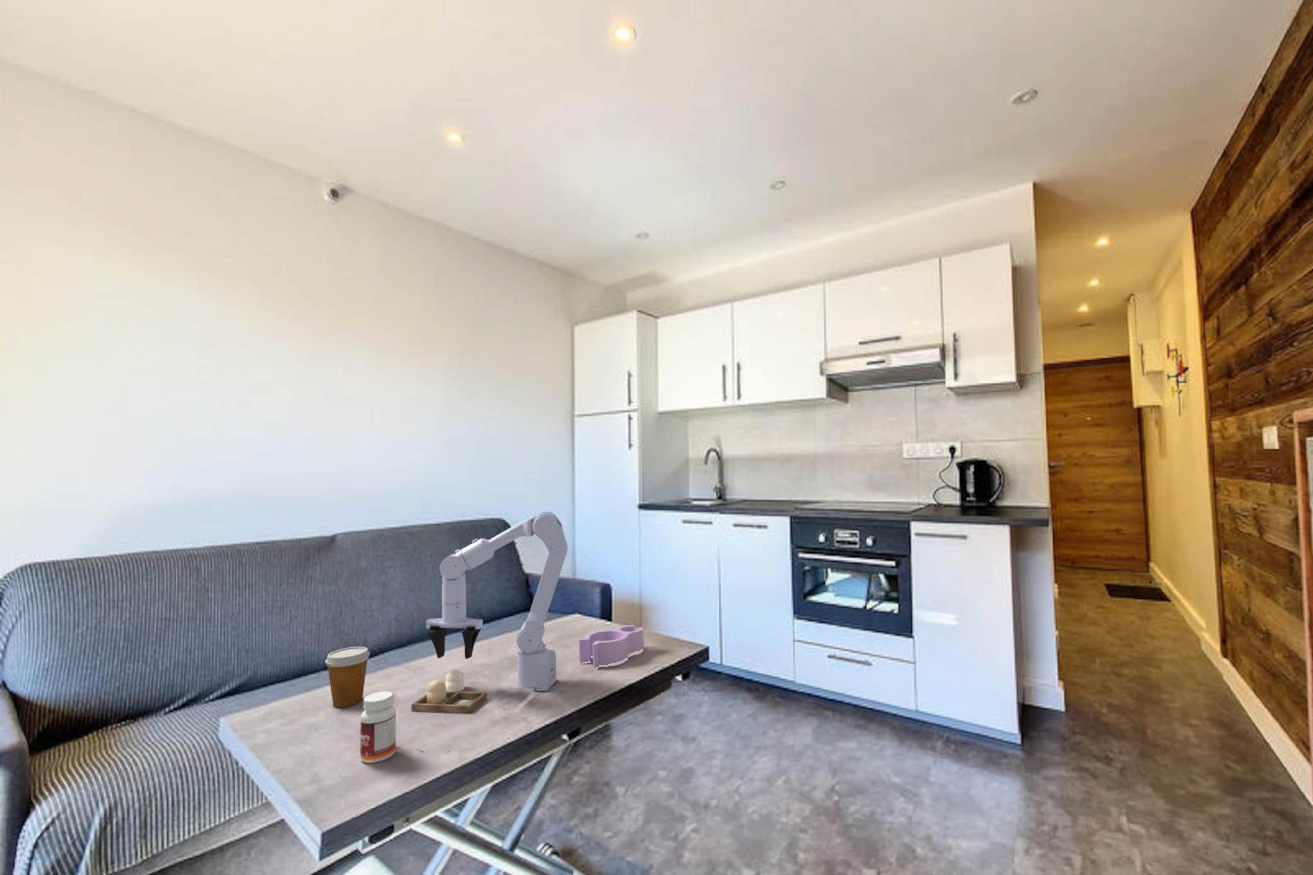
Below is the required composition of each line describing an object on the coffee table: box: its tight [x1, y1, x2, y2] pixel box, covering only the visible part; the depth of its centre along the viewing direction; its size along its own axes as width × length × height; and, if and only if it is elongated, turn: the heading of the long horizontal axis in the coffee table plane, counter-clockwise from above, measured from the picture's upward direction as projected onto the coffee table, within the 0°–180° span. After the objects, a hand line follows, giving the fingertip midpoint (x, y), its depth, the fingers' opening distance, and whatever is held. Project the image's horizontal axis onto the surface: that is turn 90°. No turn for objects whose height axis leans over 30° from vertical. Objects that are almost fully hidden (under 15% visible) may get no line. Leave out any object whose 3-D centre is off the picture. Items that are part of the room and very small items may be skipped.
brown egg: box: [426, 679, 446, 704], centre depth 128 cm, size 4×4×6 cm
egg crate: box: [410, 691, 488, 715], centre depth 127 cm, size 14×8×2 cm, turn 80°
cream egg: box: [445, 668, 466, 692], centre depth 137 cm, size 4×4×6 cm
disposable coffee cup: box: [325, 646, 371, 708], centre depth 133 cm, size 10×10×12 cm
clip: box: [578, 624, 645, 668], centre depth 159 cm, size 20×12×7 cm, turn 135°
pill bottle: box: [359, 690, 397, 764], centre depth 106 cm, size 6×6×11 cm
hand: (454, 657), depth 137 cm, fingers open, 7 cm apart
